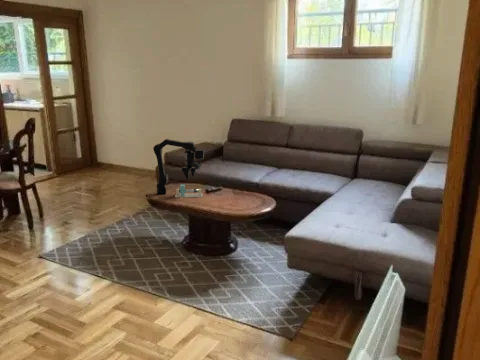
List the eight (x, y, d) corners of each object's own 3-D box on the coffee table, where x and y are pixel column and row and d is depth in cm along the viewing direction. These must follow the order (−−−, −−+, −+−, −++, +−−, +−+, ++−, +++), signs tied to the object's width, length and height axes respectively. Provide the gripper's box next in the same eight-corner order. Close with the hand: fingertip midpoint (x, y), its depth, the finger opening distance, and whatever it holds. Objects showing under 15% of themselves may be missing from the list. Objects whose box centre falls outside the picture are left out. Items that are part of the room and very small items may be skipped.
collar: (180, 194, 320) (180, 186, 318) (180, 192, 325) (180, 184, 323) (184, 194, 320) (184, 186, 318) (184, 192, 325) (184, 184, 323)
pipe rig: (175, 197, 319) (174, 190, 317) (175, 194, 326) (175, 187, 325) (202, 197, 320) (202, 190, 319) (202, 194, 328) (202, 187, 326)
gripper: (194, 161, 309) (194, 182, 313) (205, 157, 326) (204, 176, 330) (181, 160, 313) (181, 180, 317) (192, 155, 329) (192, 174, 334)
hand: (190, 177), depth 324 cm, fingers open, 9 cm apart
